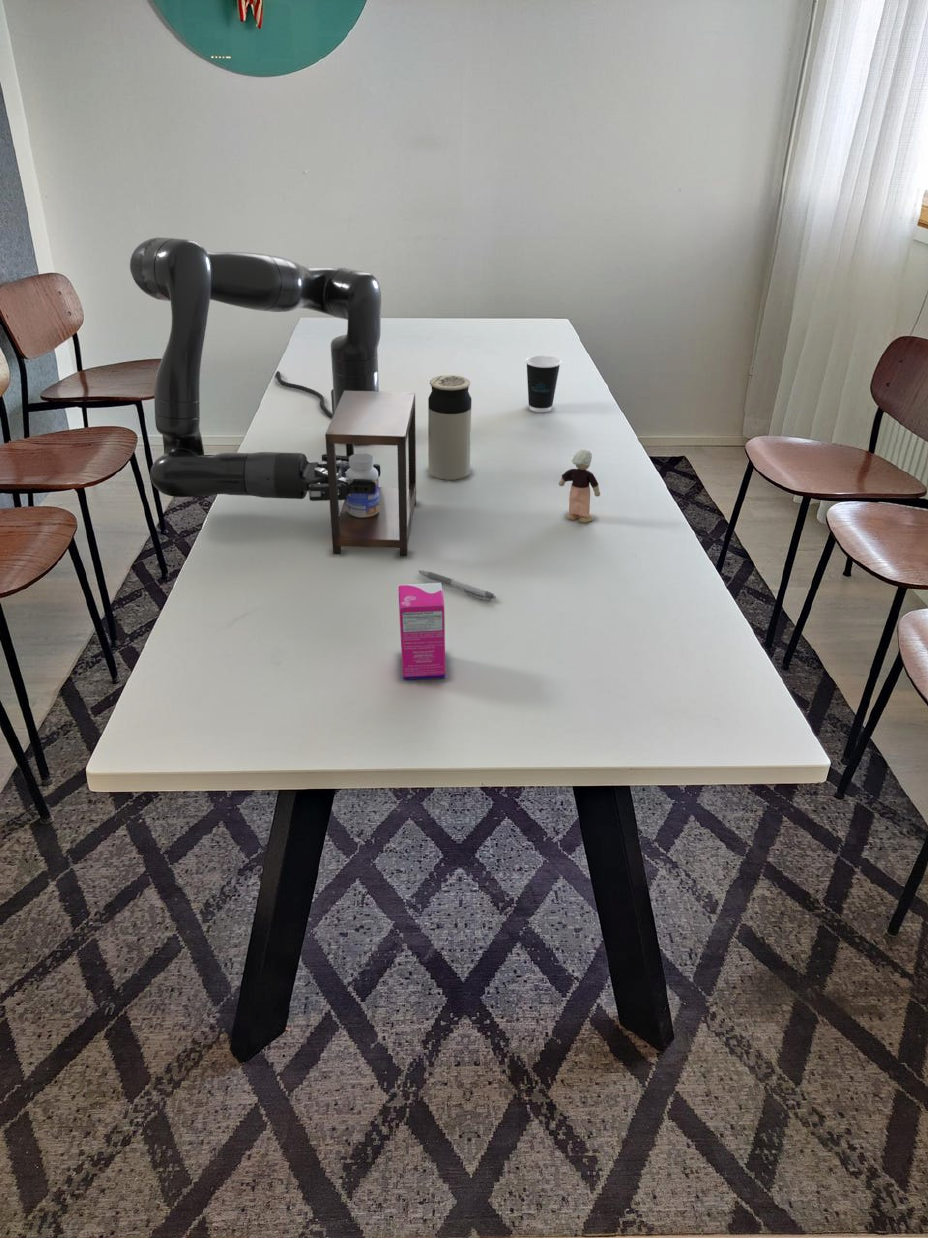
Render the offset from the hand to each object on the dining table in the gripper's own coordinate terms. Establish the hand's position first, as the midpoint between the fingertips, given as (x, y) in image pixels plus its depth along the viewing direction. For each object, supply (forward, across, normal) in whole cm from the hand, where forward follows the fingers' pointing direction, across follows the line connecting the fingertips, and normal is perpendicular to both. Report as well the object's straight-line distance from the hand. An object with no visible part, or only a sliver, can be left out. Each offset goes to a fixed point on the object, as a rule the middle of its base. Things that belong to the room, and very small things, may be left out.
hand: (377, 478), depth 151 cm
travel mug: (+11, +24, +9) cm, 28 cm away
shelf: (0, 0, +9) cm, 9 cm away
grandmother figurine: (+34, +6, +9) cm, 36 cm away
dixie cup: (+30, +62, +9) cm, 69 cm away
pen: (+14, -20, +9) cm, 26 cm away
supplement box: (+10, -40, +9) cm, 43 cm away
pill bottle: (-3, 0, +6) cm, 7 cm away
